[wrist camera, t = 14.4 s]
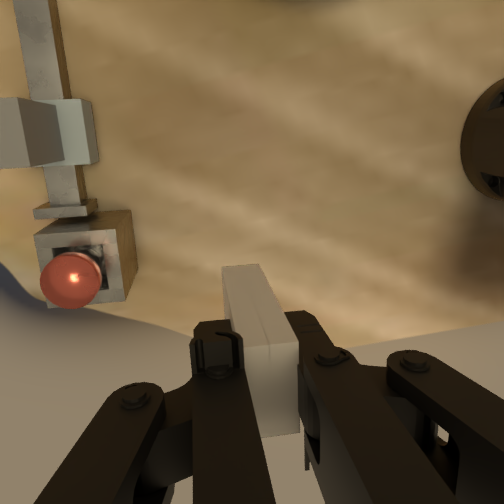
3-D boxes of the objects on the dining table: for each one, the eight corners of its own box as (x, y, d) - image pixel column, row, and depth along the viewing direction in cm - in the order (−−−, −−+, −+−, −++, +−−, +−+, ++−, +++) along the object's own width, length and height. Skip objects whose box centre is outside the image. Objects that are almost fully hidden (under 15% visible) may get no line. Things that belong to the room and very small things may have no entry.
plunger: (110, 233, 41) (94, 254, 34) (117, 277, 42) (102, 306, 35) (62, 237, 41) (35, 258, 34) (70, 281, 42) (45, 311, 35)
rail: (55, -79, 39) (36, -108, 34) (98, 207, 46) (87, 215, 42) (-2, -80, 38) (-30, -110, 34) (51, 210, 46) (34, 219, 41)
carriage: (91, 102, 43) (49, 88, 30) (100, 161, 45) (63, 172, 32) (20, 104, 42) (-55, 92, 30) (31, 164, 44) (-35, 177, 31)
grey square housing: (130, 209, 47) (115, 229, 38) (138, 268, 49) (125, 301, 39) (62, 214, 46) (28, 235, 37) (72, 274, 48) (43, 308, 39)
